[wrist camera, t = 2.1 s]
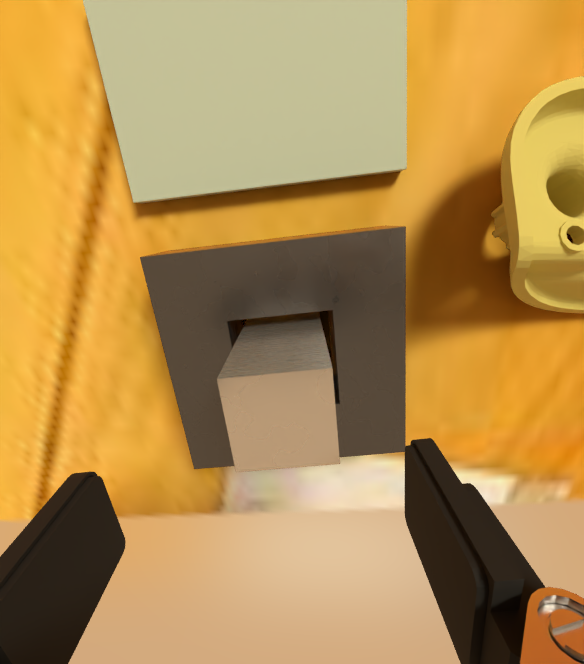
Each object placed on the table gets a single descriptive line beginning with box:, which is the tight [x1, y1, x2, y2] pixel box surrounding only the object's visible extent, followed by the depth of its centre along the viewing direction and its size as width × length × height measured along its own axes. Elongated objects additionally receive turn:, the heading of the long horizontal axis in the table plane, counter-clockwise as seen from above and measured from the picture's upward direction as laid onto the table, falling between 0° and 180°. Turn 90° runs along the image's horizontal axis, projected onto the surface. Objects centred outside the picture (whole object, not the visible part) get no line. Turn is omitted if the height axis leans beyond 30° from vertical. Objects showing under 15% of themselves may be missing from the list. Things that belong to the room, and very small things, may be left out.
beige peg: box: [217, 311, 340, 472], centre depth 18 cm, size 5×5×10 cm
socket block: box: [140, 226, 406, 469], centre depth 21 cm, size 14×14×4 cm
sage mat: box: [83, 0, 407, 203], centre depth 18 cm, size 16×10×1 cm, turn 96°
